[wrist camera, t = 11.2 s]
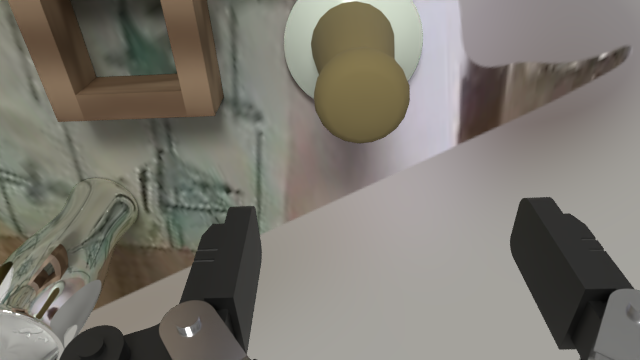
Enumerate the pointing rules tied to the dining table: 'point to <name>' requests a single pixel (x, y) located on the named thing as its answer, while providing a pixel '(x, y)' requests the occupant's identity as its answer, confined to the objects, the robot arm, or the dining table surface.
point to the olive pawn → (358, 73)
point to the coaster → (316, 3)
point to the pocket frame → (121, 91)
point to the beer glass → (62, 271)
